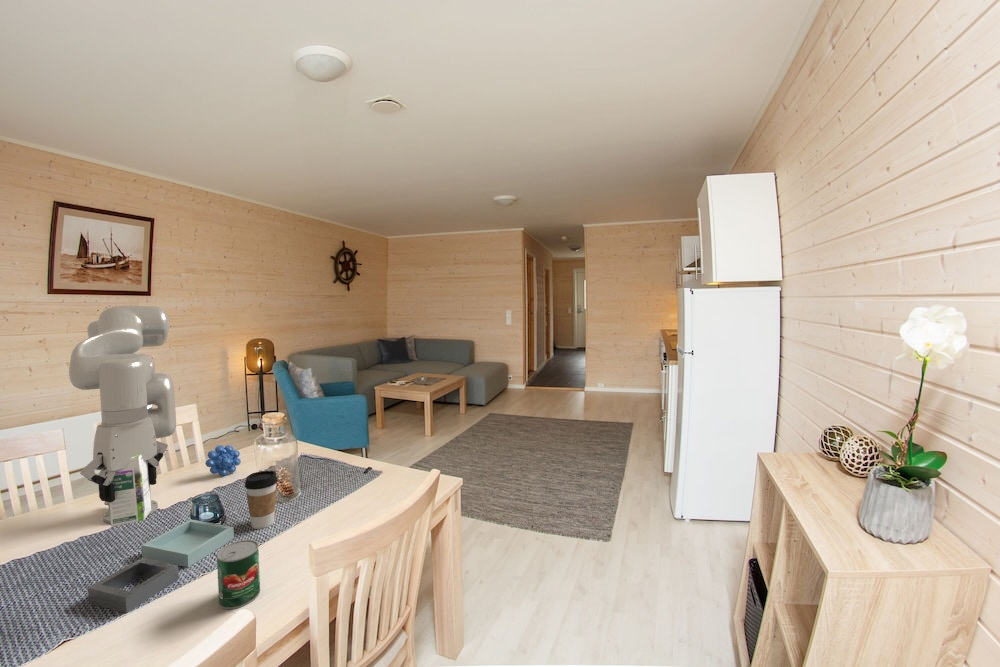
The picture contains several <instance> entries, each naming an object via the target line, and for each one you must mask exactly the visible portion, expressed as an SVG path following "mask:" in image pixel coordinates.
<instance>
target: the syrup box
mask: <svg viewBox="0 0 1000 667" xmlns="http://www.w3.org/2000/svg"><path fill="white" fill-rule="evenodd" d="M107 473H108V472H107ZM111 483H113V484H114V489H115V500H114V501H113V502H111V503H110V515H111V523H110V526H111V528H113V527H117V526H123V525H127V524H132V523H138V522H143V521H144V520H146V518H147V517H148V515H150V514H151V513H150V511H151V500H152V498H151V499H150V491H151V486H150V487H149V474H148V461H143V458H142V456H141V454H140V455H137V456H135V457H132V458H130V460H129V463H128V466H127V467H126V468H124V469H122V470H119V471H117V472H116V473H115V475H114V477H113V479H112V481H111ZM149 513H150V514H149Z"/></svg>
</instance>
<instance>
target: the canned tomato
mask: <svg viewBox="0 0 1000 667" xmlns="http://www.w3.org/2000/svg"><path fill="white" fill-rule="evenodd" d="M259 547H260V546H259V542H258V541H256V540H253V539H244V540H238V541H234V542H231V543H229V544H227V545H225V546H222V547H221V549H219V550H218V552H217V554H216V565H217V566H216V567H217V585H218V586H217V587H218V588H217V589H218V590H217V591H218V605H219V607H220V608H222V609H224V610H235V609H239V608H242V607H244V606H246V605H248V604H250V603H252V602H253V601H255V600H256V599H257V598H258V597H259V595H260V593H261V586H260V585H261V582H260V580H261V578H260V576H261V575H260V554H259V553H260V552H259V550H260V549H259Z"/></svg>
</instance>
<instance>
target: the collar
mask: <svg viewBox="0 0 1000 667" xmlns="http://www.w3.org/2000/svg"><path fill="white" fill-rule="evenodd" d="M139 578H146V580H145V581H142V582H140V584H138V585H136V586H135V587H133V588H132V589H130V590H125V589H123V588H124V587H126V586H127V585H130V584H131V583H132V582H135V581H136V580H138V579H139ZM178 580H179V565H175V564H170V563H165V562H161V561H156V560H152V559H147V558H143V557H141V558H139V559H138V560H136V561H134V562H132V563H131V564H128V565H127V566H124V567H123V568H121V569H119V570H118V571H116V572H114V573H112V574H110V575H108V576H106V577H104V578H103V579H100V580H99V581H97V582H95V583H94V584H92V585H90V586H88V587H87V595H88V596H87V597H88V604H91V605H95V606H99V607H103V608H107V609H110V610H114V611H118V612H121V613H125V614H127V613H130V612H131V611H132V610H134V609H135V608H137V607H139V606H140V605H141V604H143V603H145V602H147V600H149V599H150V598H152V597H153V596H155V595H157V594H159V593H161V591H163V590H164V589H166V588H168V587H169V586H171V585H173V584H174V583H175V582H177V581H178Z"/></svg>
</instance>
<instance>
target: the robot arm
mask: <svg viewBox="0 0 1000 667" xmlns="http://www.w3.org/2000/svg"><path fill="white" fill-rule="evenodd" d="M86 332H87V336H88V338H86V339H84V340H82V341H80V342H79V343H77V345H75V347H74V348H73V350H72V352H71V355H70V361H69V368H68V378H69V380H70V383H71V385H72V386H73V387H75V388H76V389H78V390H81V391H83V390H84V391H85V390H86V391H87V390H98V389H99V396H100V410H101V412H100V414H101V422H100V424H98V425H97V427H96V429H95V434H94V440H93V450H92V460H91V461H90V462H89V463H88V464H87V465H86V466H85V467H83V469H82V470H80V472H79V473H80V475H81V476H83V477H84V478H85V479H87V481H90V482H93V483H94V484H96V485H98V497H99V499H100V501H101V502H103V503H104V504H103V505H105V506H108V510H107V511H106V512H105V513H103V516H102V520H103V522H105V523H107V524H111V515H110V503H111V502H113V501H114V500H115V489H114V484H113V483H111V481H112V479H113V477H114V475H115V473H116V472H117V471H119V470H122V469H124V468H126V467H127V466H128V463H129V460H130V458H132V457H135V456H137V455H140V454H141V456H142V458H143V461H148V474H149V487H150V488H151V486H154V485H156V484H157V478H158V477H157V476H158V475H157V474H158V473H157V467H159V465H160V461H161V460H162V459H163V457H164V454H165V452H166V451H167V449H168V448H169V445H168V444H167V443H164V442H161V441H159V440H157V439H163V438H166V437H170V436H172V435H173V434H174V433H175V431H176V430H177V415H176V398H175V396H176V395H175V387H174V386H175V385H174V381H173V379H172V377H171V375H169V374H167V373H163V372H162V373H161V372H160V373H159V372H157V373H155V372H156V365H155V361H154V360H153V359H152V358H151V356H149V355H147V354H146V353H139V352H138V351H139V350H140V349H141V348H143V347H144V348H146V347H147V348H151V347H152V348H153V347H160V346H163V345H164V344H165V343H166V342H167V341H168V338H169V337H168V336H169V332H170V319H169V316H168V313H167V312H166V311H165V310H164V309H163V308H162V307H159V306H156V305H155V306H154V305H147V306H146V305H140V306H139V305H131V306H130V305H129V306H128V305H121V306H120V305H119V306H118V305H116V306H112V307H108V308H107V309H105V310H103V311H101V313H100V315H99V316H98V320H95V321H92V322H90V323H89V324H88V326H87V331H86ZM152 405H155V406H156V407H154V408H153V406H152ZM95 471H99V472H98V474H97V473H96V472H95ZM107 472H108V473H107ZM150 499H151V511H150V513H149V514H148V515H150V514H152V513H153V512H154V511H156V510H157V509H158V506H159V505H158V501H156V500H154V499H152V495H151V490H150Z"/></svg>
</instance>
